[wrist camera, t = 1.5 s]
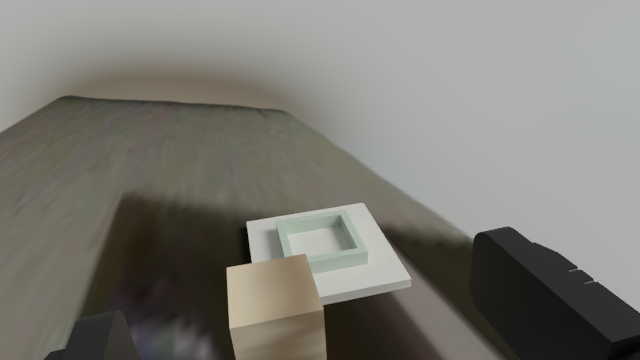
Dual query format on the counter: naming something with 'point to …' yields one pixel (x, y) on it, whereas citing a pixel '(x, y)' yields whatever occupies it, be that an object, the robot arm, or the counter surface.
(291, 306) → the beige square block
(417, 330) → the counter surface
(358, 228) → the base plate
